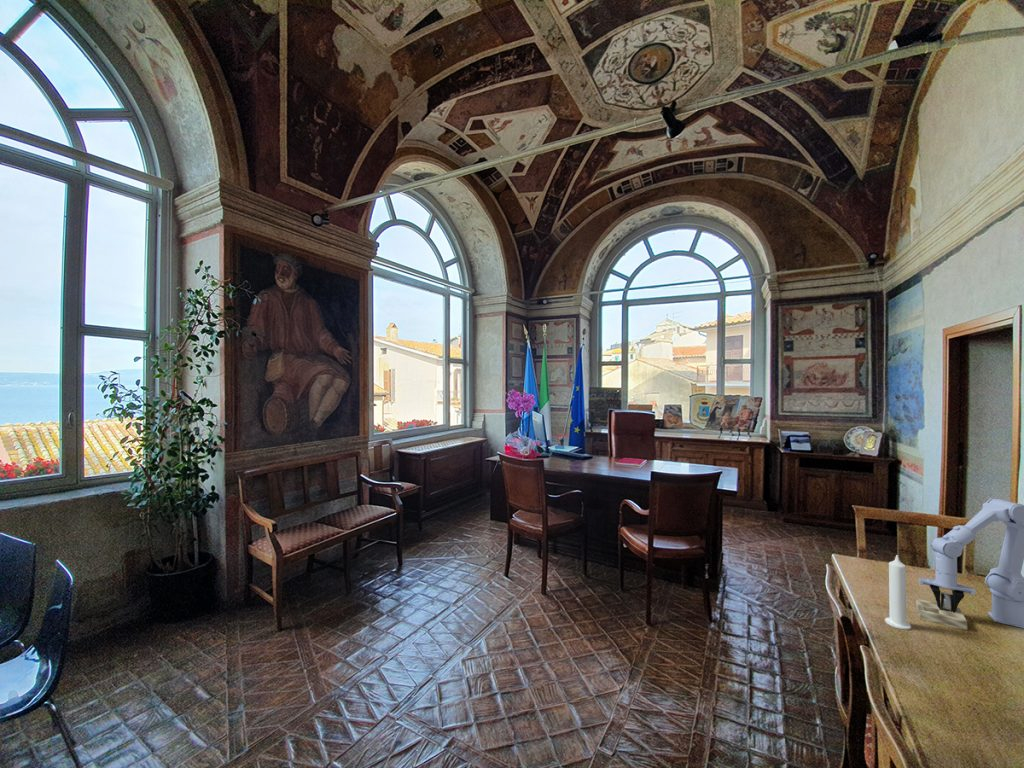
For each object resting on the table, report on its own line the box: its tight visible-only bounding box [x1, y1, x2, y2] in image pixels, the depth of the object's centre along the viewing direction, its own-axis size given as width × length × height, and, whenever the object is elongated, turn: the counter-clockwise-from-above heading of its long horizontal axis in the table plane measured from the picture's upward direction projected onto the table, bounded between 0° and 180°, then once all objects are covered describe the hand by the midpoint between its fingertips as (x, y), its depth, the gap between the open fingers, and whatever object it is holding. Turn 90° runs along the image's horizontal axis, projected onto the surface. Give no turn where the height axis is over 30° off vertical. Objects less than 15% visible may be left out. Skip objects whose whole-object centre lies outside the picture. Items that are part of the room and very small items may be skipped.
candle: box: [884, 554, 912, 631], centre depth 153 cm, size 7×7×25 cm
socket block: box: [915, 598, 968, 631], centre depth 157 cm, size 12×12×3 cm
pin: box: [940, 591, 953, 612], centre depth 158 cm, size 3×3×8 cm
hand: (946, 608), depth 158 cm, fingers open, 3 cm apart
